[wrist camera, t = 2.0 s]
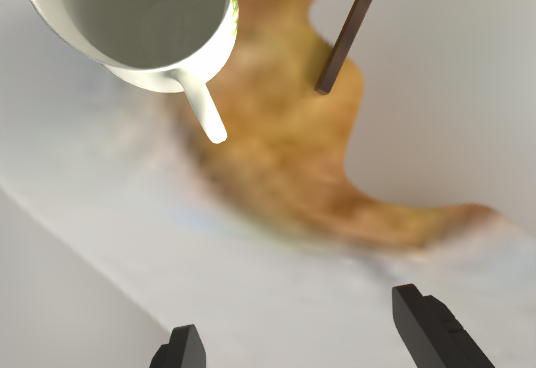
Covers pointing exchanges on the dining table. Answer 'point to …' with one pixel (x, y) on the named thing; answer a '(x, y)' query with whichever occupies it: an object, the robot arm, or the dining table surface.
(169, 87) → the pitcher
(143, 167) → the dining table surface
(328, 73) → the bay
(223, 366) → the dining table surface
